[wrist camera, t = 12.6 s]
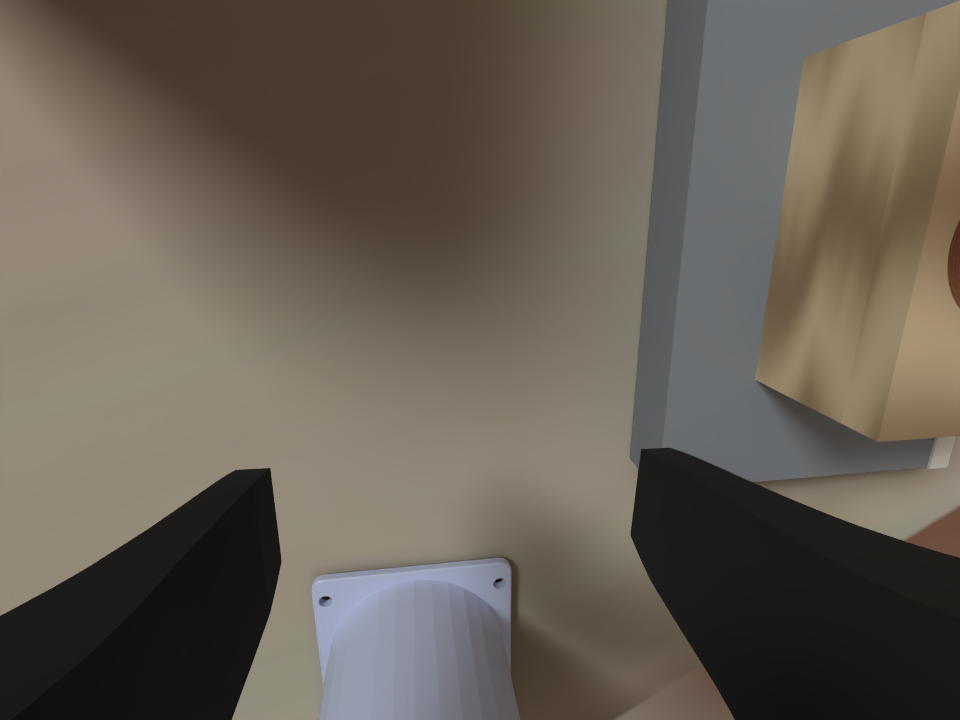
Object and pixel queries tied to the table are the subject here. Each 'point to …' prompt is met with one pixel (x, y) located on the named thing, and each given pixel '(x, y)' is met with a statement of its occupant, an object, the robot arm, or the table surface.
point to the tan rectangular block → (872, 235)
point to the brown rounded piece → (954, 265)
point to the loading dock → (739, 241)
